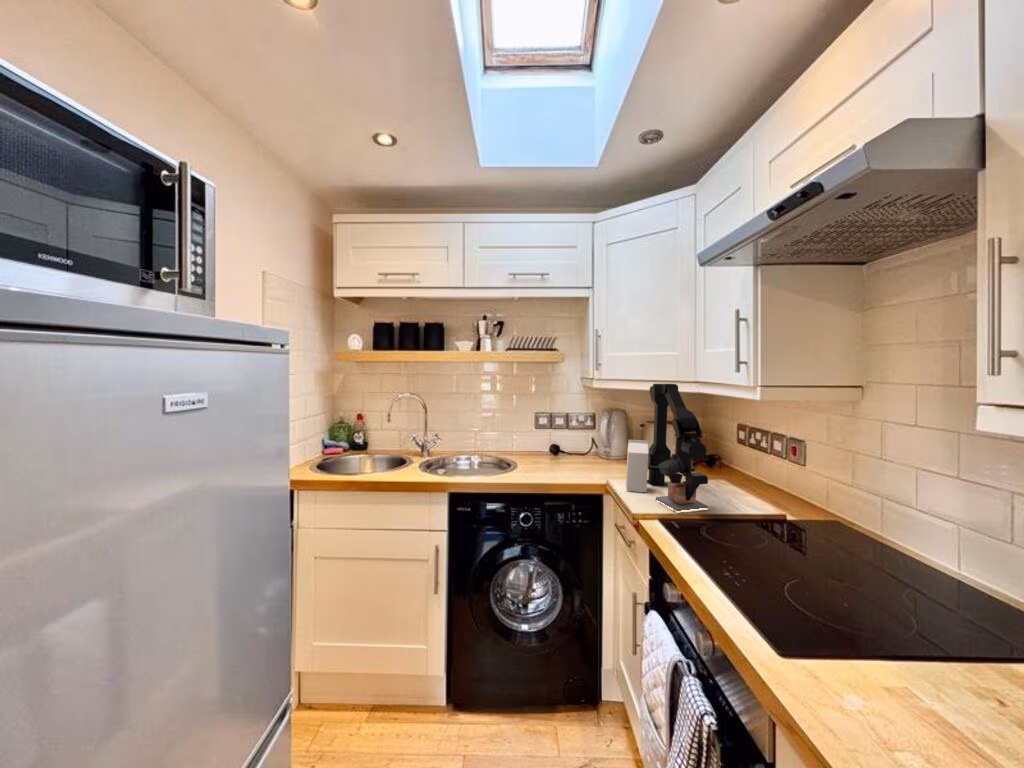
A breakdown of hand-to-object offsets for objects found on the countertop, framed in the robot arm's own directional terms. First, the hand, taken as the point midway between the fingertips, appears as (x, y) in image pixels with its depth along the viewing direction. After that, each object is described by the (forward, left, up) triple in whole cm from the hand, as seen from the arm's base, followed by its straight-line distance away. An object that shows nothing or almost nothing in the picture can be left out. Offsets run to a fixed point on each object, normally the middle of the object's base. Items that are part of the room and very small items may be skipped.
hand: (681, 497), depth 157 cm
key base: (0, 0, -3) cm, 3 cm away
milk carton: (-19, -6, -3) cm, 20 cm away
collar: (0, 0, -1) cm, 1 cm away
